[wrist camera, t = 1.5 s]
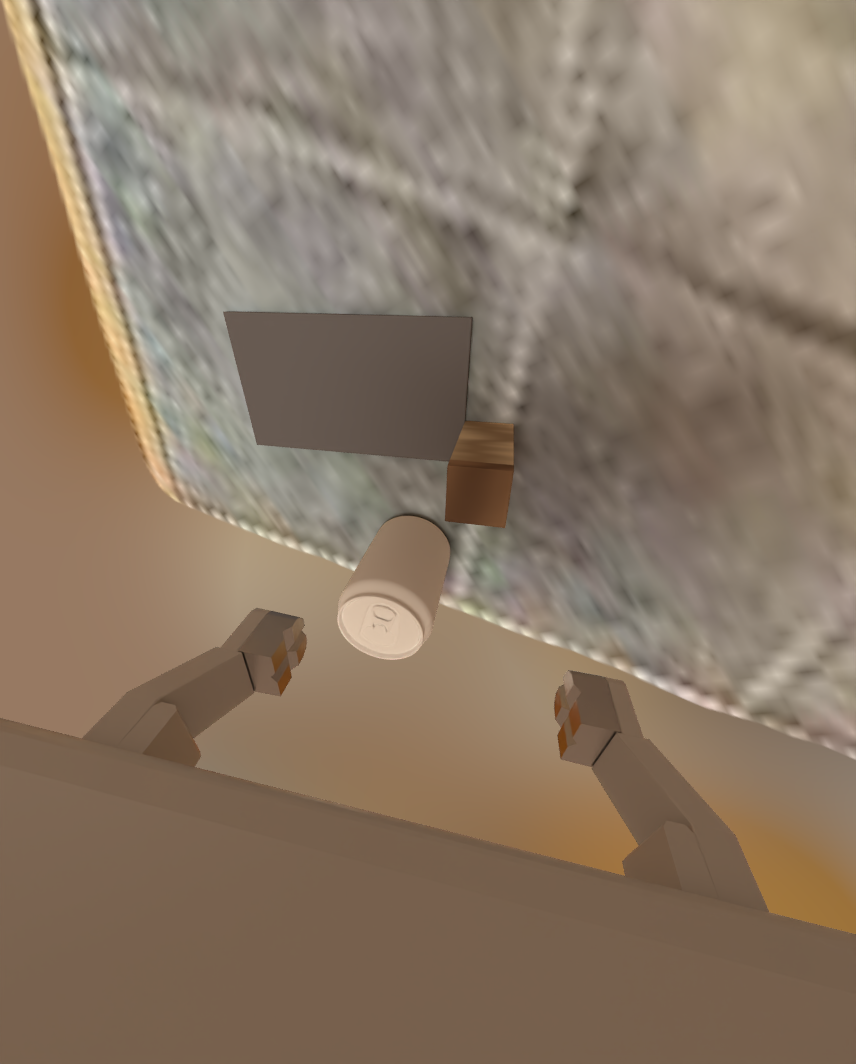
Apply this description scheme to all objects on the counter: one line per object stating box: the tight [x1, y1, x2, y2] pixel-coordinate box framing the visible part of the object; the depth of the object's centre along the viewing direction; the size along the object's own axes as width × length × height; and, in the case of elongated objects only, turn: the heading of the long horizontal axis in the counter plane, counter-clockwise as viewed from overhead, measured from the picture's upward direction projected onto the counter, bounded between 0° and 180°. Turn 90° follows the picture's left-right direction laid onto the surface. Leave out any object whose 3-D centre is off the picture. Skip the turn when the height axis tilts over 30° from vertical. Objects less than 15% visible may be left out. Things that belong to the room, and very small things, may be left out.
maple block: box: [445, 421, 514, 528], centre depth 27 cm, size 4×4×10 cm
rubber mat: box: [223, 312, 472, 461], centre depth 30 cm, size 20×11×1 cm, turn 89°
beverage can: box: [337, 516, 450, 660], centre depth 33 cm, size 8×8×12 cm
